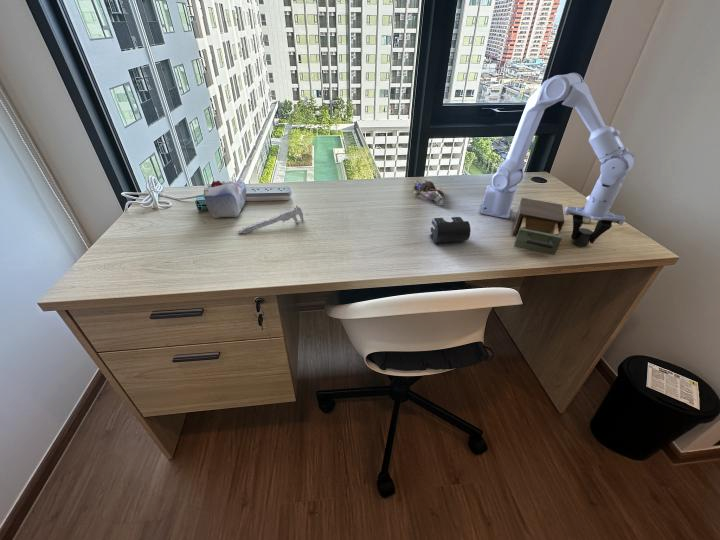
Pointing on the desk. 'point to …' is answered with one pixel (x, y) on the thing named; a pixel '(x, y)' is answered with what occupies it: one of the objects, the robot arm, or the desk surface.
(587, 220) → the milkshake
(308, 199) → the desk surface
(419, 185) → the warrior figurine
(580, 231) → the cylinder
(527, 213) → the cabinet
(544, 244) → the drawer
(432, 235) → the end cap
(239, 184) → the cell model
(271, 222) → the caliper
